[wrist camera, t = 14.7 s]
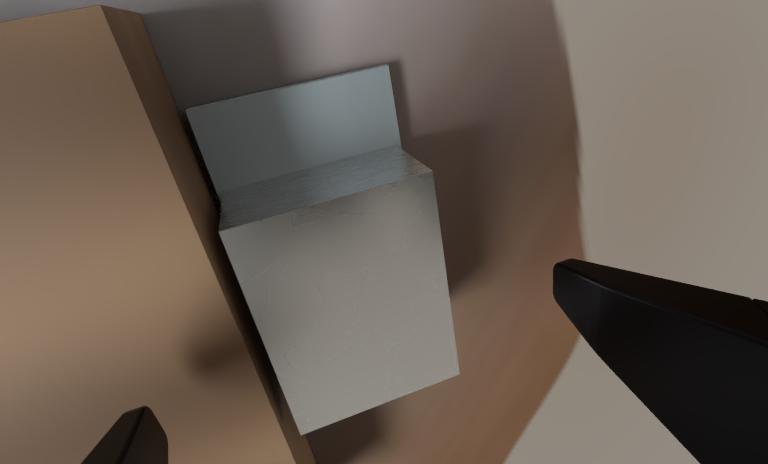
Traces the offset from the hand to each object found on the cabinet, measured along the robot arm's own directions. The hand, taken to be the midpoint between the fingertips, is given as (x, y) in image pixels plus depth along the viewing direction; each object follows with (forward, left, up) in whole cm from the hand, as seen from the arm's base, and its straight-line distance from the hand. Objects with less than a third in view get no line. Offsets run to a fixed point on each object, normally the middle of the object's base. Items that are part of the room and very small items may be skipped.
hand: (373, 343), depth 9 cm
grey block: (0, 0, -4) cm, 4 cm away
